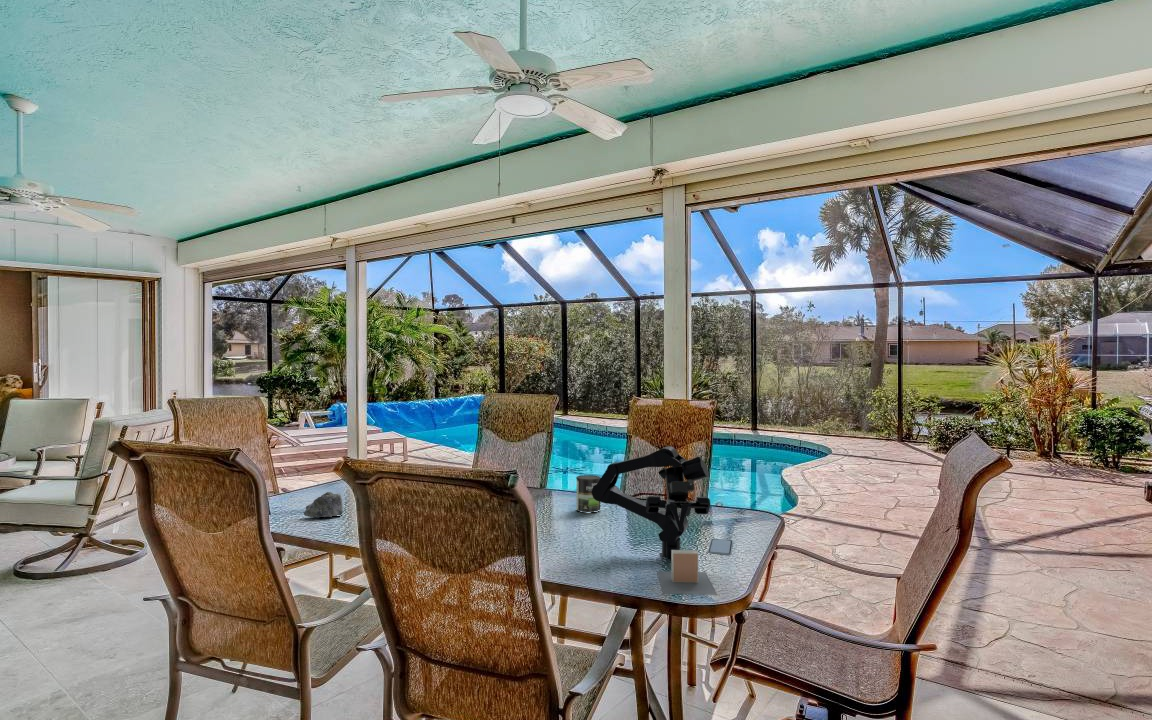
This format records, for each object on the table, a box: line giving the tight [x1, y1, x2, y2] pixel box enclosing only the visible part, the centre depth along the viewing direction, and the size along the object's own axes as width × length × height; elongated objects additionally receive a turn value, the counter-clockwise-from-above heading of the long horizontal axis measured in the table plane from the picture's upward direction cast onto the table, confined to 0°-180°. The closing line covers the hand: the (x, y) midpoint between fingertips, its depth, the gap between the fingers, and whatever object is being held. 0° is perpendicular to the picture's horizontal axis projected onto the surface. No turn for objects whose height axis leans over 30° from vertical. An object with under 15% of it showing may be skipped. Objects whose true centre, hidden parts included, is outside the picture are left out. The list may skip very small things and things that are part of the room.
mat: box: [656, 570, 718, 596], centre depth 158 cm, size 16×14×1 cm
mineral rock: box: [303, 491, 344, 518], centre depth 230 cm, size 13×11×10 cm
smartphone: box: [707, 538, 734, 556], centre depth 192 cm, size 7×1×15 cm
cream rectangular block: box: [670, 549, 699, 583], centre depth 159 cm, size 3×7×8 cm, turn 88°
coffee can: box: [575, 474, 602, 512], centre depth 242 cm, size 10×10×14 cm
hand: (680, 530), depth 168 cm, fingers closed
